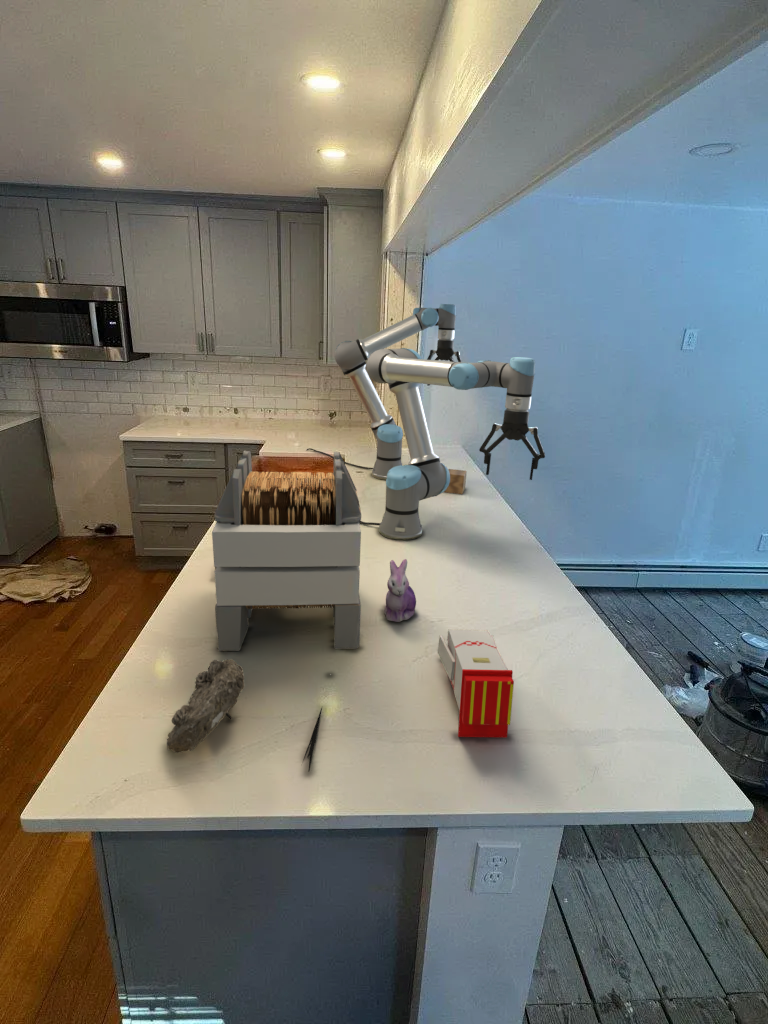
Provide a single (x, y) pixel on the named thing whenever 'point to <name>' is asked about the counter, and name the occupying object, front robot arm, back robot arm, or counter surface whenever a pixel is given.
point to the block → (456, 481)
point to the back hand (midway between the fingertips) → (442, 386)
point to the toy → (478, 682)
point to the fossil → (206, 705)
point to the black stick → (313, 740)
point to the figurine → (399, 594)
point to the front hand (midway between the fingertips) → (509, 476)
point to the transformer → (287, 549)
